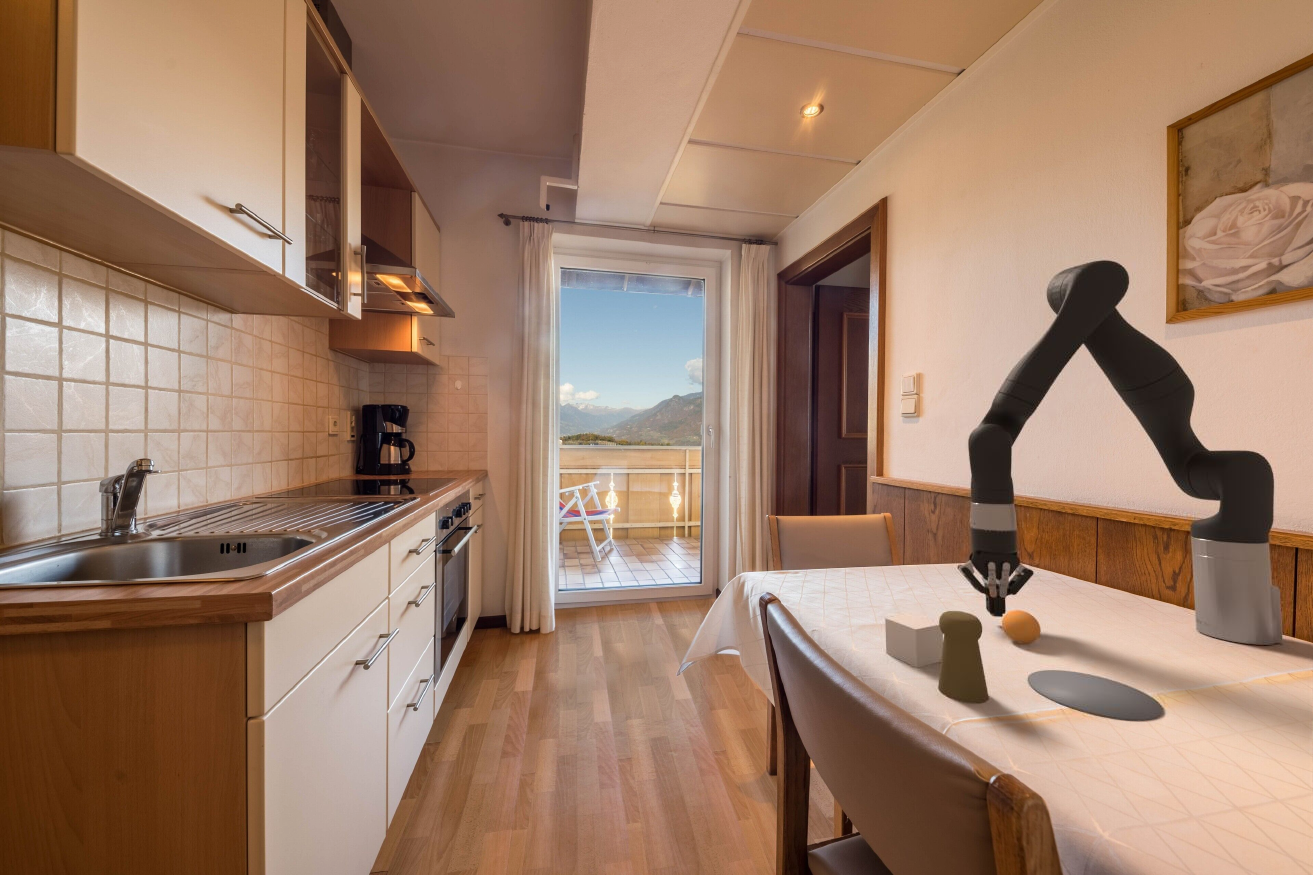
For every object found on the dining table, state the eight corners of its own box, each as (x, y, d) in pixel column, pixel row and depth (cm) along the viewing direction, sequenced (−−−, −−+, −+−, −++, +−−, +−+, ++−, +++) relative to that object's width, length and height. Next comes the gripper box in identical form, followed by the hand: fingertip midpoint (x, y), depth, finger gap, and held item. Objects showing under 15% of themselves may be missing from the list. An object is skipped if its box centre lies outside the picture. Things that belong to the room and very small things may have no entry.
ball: (1031, 637, 89) (1029, 606, 89) (1048, 649, 84) (1046, 616, 84) (996, 635, 90) (995, 605, 90) (1011, 647, 85) (1010, 614, 85)
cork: (997, 705, 65) (993, 621, 66) (947, 701, 67) (944, 619, 67) (977, 684, 71) (974, 607, 72) (931, 681, 73) (929, 605, 73)
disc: (1115, 675, 74) (1115, 674, 74) (1194, 725, 60) (1194, 723, 60) (1009, 667, 77) (1009, 666, 77) (1061, 714, 63) (1061, 712, 63)
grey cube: (886, 654, 83) (884, 617, 83) (912, 648, 85) (910, 613, 86) (917, 667, 77) (915, 629, 78) (944, 661, 80) (942, 623, 80)
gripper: (963, 528, 94) (966, 619, 94) (1042, 529, 92) (1045, 624, 91) (948, 522, 102) (951, 607, 101) (1021, 524, 99) (1024, 611, 98)
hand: (996, 615), depth 96 cm, fingers closed
